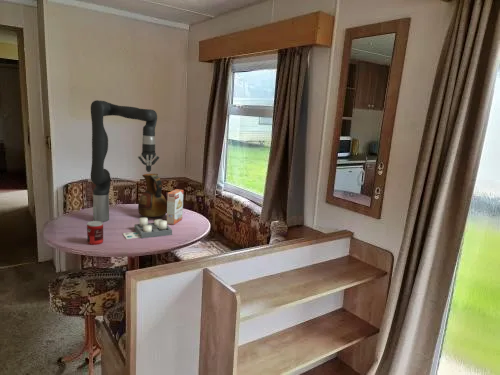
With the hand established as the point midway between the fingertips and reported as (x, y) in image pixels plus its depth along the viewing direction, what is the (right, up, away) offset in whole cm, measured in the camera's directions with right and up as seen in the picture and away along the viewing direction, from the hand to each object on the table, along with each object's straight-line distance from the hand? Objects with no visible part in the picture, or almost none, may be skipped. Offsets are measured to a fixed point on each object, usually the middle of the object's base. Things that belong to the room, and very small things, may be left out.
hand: (148, 171), depth 215 cm
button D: (+10, -34, -5) cm, 36 cm away
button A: (-2, -33, -2) cm, 33 cm away
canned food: (-21, -40, -25) cm, 51 cm away
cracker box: (+12, -33, +20) cm, 40 cm away
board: (+4, -37, -3) cm, 37 cm away
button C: (+2, -37, -9) cm, 38 cm away
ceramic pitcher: (-5, -30, +28) cm, 41 cm away
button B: (+5, -35, +3) cm, 35 cm away
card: (-6, -38, -11) cm, 40 cm away
